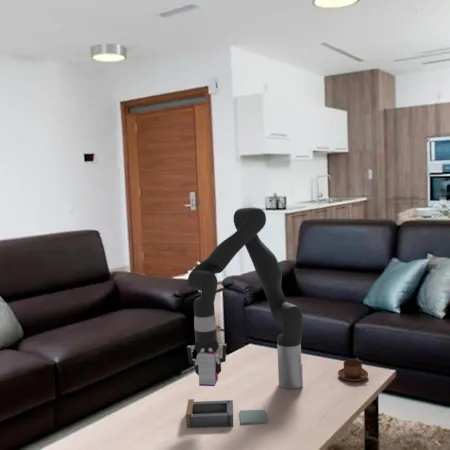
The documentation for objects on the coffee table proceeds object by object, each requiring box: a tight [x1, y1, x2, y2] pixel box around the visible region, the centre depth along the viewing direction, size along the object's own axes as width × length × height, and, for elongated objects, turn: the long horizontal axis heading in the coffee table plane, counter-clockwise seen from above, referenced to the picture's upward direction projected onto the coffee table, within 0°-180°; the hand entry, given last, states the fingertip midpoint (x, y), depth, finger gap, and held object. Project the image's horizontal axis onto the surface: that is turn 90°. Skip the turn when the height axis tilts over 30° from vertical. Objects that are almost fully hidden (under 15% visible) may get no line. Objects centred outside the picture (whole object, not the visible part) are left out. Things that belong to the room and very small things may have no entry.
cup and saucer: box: [337, 359, 369, 382], centre depth 214 cm, size 12×12×6 cm
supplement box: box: [197, 350, 219, 387], centre depth 183 cm, size 6×6×12 cm
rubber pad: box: [239, 409, 268, 425], centre depth 184 cm, size 9×9×1 cm
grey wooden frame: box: [185, 398, 234, 429], centre depth 184 cm, size 16×12×5 cm
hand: (208, 373), depth 183 cm, fingers closed on supplement box, 6 cm apart
